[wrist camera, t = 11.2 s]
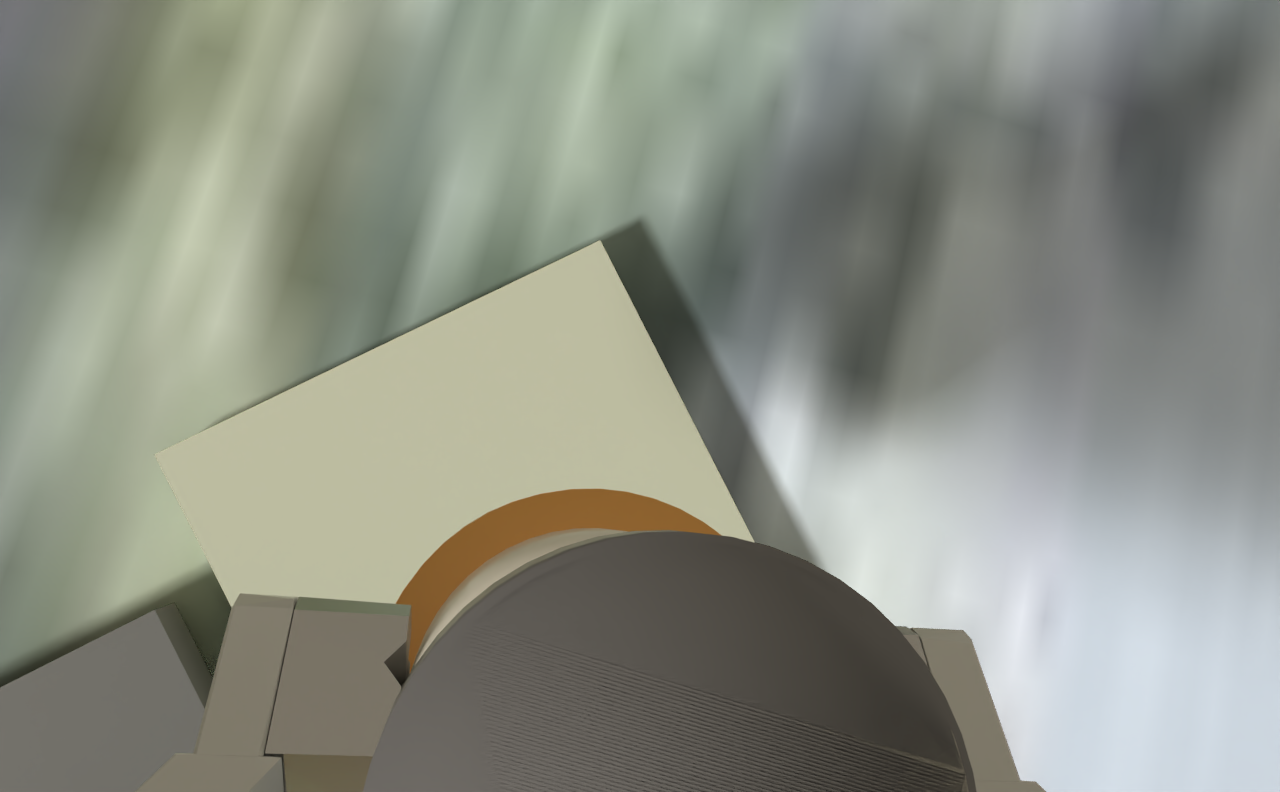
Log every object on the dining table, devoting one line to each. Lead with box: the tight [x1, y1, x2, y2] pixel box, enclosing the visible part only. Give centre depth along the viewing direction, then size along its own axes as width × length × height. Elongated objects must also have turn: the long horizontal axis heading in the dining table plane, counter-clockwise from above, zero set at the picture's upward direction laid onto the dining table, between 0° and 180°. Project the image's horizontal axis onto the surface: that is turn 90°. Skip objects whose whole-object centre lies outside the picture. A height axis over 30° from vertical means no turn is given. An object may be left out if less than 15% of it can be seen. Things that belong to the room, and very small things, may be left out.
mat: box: [154, 240, 754, 607], centre depth 23 cm, size 11×9×1 cm
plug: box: [363, 489, 976, 792], centre depth 11 cm, size 4×4×9 cm
